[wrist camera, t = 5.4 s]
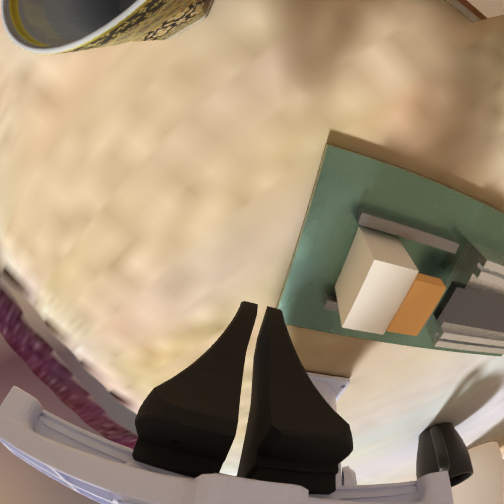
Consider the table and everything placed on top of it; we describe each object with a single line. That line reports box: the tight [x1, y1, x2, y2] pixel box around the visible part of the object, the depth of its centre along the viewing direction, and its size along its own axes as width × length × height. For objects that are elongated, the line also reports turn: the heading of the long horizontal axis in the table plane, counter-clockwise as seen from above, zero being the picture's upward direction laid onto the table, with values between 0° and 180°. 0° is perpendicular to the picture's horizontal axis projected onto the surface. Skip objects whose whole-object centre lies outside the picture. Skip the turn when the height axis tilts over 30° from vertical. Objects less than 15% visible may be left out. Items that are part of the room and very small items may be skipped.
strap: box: [433, 281, 504, 333], centre depth 18 cm, size 4×15×1 cm, turn 78°
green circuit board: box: [276, 143, 504, 356], centre depth 20 cm, size 14×28×4 cm, turn 78°
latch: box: [335, 226, 446, 336], centre depth 19 cm, size 5×5×5 cm
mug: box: [416, 423, 473, 487], centre depth 29 cm, size 8×12×10 cm
